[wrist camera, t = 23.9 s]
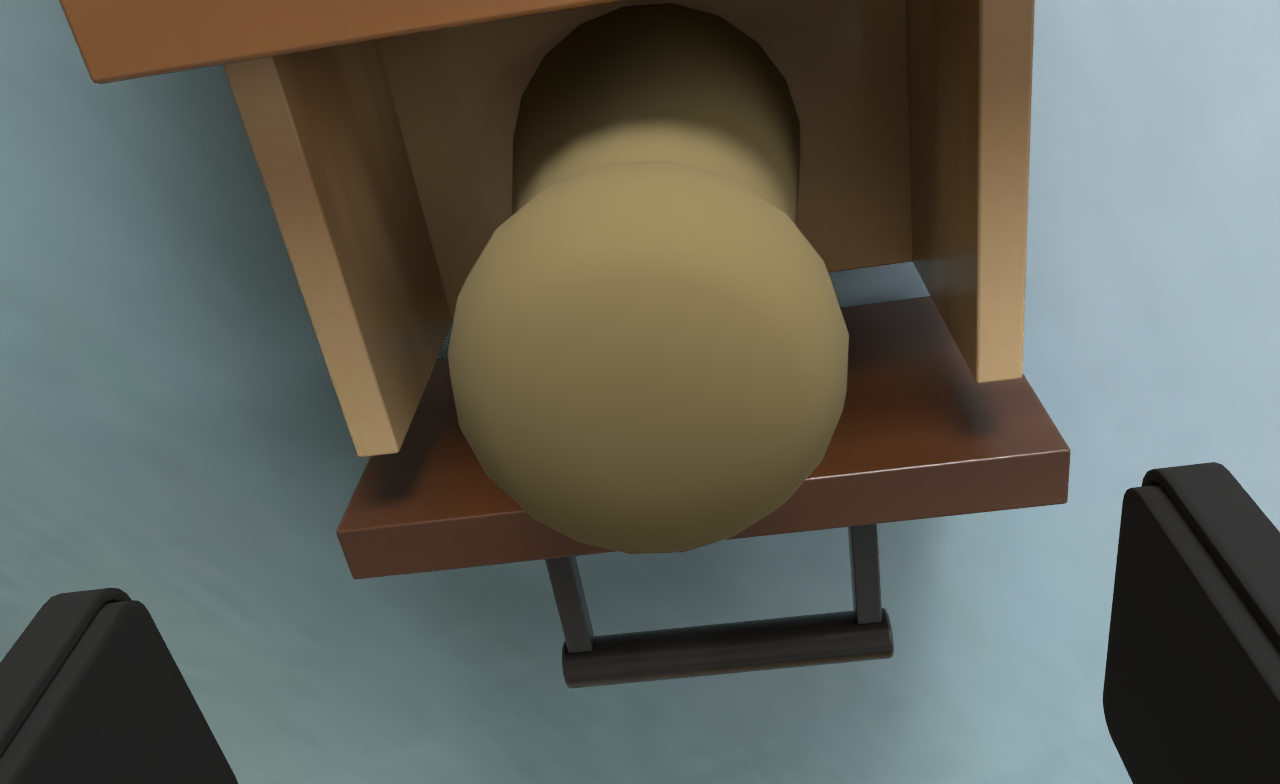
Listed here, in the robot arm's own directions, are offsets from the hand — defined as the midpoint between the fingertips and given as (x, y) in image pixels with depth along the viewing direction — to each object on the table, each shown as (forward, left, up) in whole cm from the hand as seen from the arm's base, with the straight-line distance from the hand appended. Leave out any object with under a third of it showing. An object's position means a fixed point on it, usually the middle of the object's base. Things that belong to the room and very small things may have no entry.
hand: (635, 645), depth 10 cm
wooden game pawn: (0, +1, -14) cm, 14 cm away
